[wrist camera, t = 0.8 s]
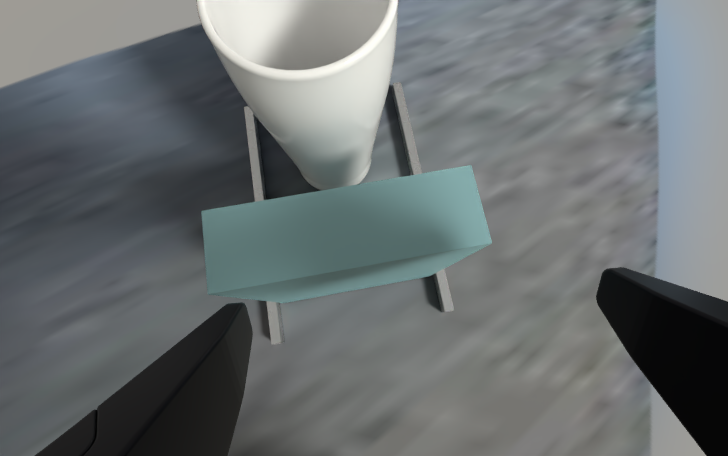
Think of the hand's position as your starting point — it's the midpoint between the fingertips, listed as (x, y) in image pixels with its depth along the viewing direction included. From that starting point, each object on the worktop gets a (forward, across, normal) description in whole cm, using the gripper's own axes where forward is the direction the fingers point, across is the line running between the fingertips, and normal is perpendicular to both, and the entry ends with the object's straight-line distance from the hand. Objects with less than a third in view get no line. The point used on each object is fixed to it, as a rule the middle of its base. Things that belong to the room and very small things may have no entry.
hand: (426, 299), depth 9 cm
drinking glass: (+19, +3, +1) cm, 19 cm away
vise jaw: (+14, +2, +7) cm, 16 cm away
